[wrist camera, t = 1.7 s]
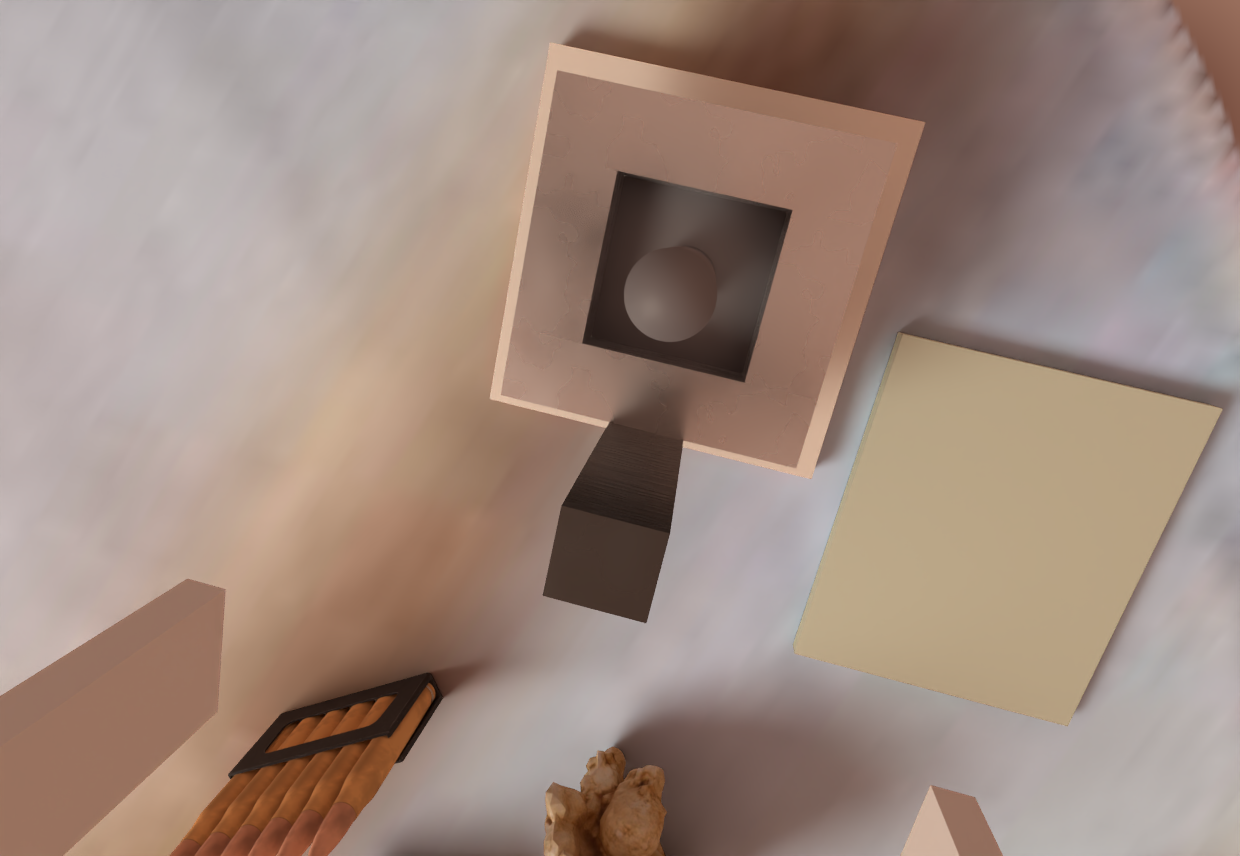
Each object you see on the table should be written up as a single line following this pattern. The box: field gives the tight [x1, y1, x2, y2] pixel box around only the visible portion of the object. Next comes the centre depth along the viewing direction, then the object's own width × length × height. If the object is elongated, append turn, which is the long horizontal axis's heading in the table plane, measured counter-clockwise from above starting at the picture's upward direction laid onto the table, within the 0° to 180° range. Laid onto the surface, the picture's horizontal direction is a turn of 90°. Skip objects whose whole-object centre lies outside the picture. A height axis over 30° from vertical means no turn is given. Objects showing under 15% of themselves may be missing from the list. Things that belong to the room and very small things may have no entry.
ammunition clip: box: [170, 673, 443, 856], centre depth 35 cm, size 11×2×12 cm, turn 111°
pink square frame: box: [501, 70, 897, 623], centre depth 22 cm, size 15×12×11 cm
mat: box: [793, 332, 1223, 726], centre depth 33 cm, size 17×14×1 cm
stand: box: [490, 42, 925, 479], centre depth 25 cm, size 16×16×15 cm
